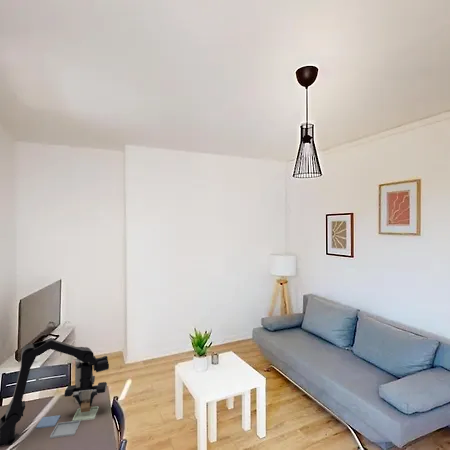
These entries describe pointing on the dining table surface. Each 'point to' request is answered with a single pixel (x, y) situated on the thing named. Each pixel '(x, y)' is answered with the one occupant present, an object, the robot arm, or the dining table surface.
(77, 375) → the thermos bottle
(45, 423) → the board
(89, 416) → the green tray
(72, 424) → the grey tray
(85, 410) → the letter cube
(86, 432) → the dining table surface
